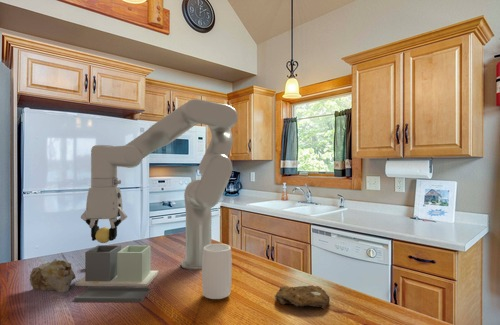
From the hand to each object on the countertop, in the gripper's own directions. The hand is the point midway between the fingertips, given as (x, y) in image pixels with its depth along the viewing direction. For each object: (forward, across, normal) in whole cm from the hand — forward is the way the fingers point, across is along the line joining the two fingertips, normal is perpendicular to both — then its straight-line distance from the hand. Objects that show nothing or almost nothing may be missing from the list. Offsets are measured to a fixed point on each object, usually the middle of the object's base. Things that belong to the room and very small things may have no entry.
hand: (104, 239), depth 95 cm
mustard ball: (+1, 0, 0) cm, 1 cm away
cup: (+14, -38, +11) cm, 42 cm away
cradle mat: (+13, -8, +12) cm, 20 cm away
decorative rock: (+14, -62, +14) cm, 65 cm away
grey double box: (+13, -5, 0) cm, 14 cm away
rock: (+14, +12, +6) cm, 19 cm away
